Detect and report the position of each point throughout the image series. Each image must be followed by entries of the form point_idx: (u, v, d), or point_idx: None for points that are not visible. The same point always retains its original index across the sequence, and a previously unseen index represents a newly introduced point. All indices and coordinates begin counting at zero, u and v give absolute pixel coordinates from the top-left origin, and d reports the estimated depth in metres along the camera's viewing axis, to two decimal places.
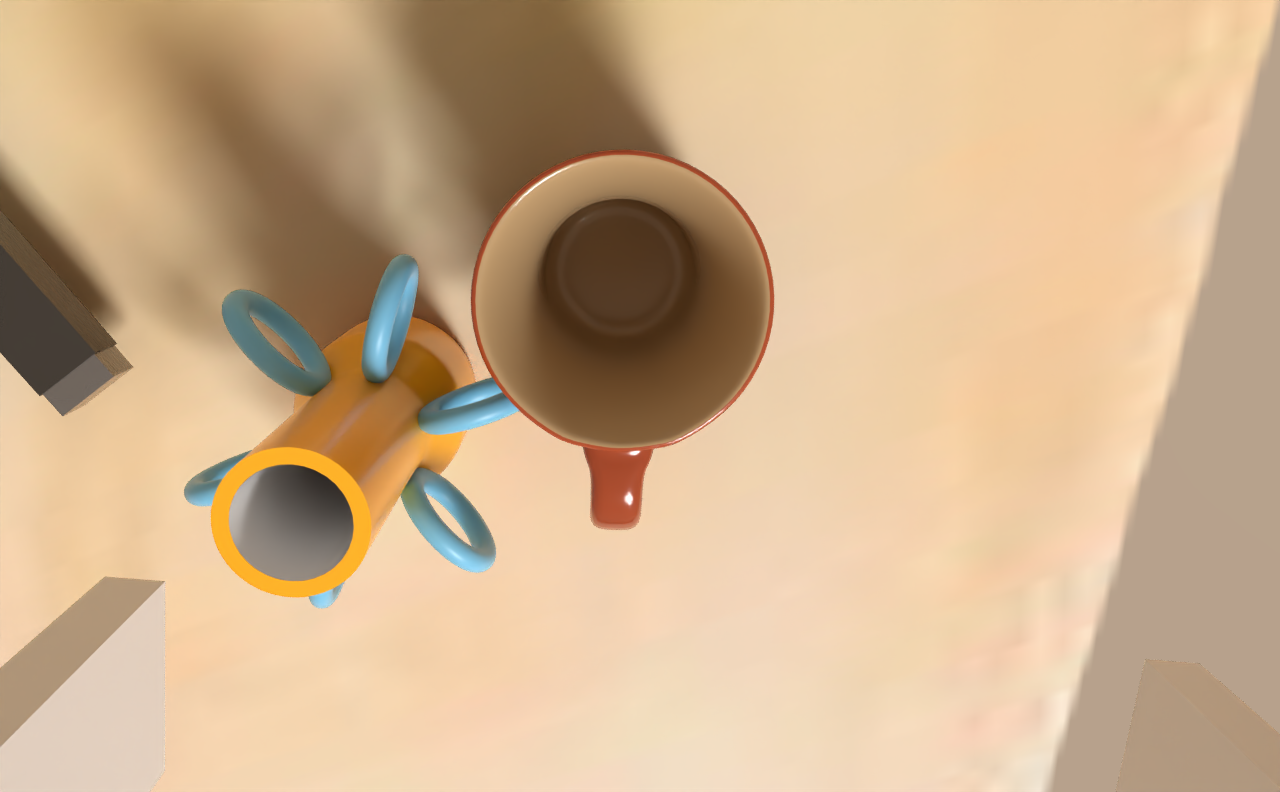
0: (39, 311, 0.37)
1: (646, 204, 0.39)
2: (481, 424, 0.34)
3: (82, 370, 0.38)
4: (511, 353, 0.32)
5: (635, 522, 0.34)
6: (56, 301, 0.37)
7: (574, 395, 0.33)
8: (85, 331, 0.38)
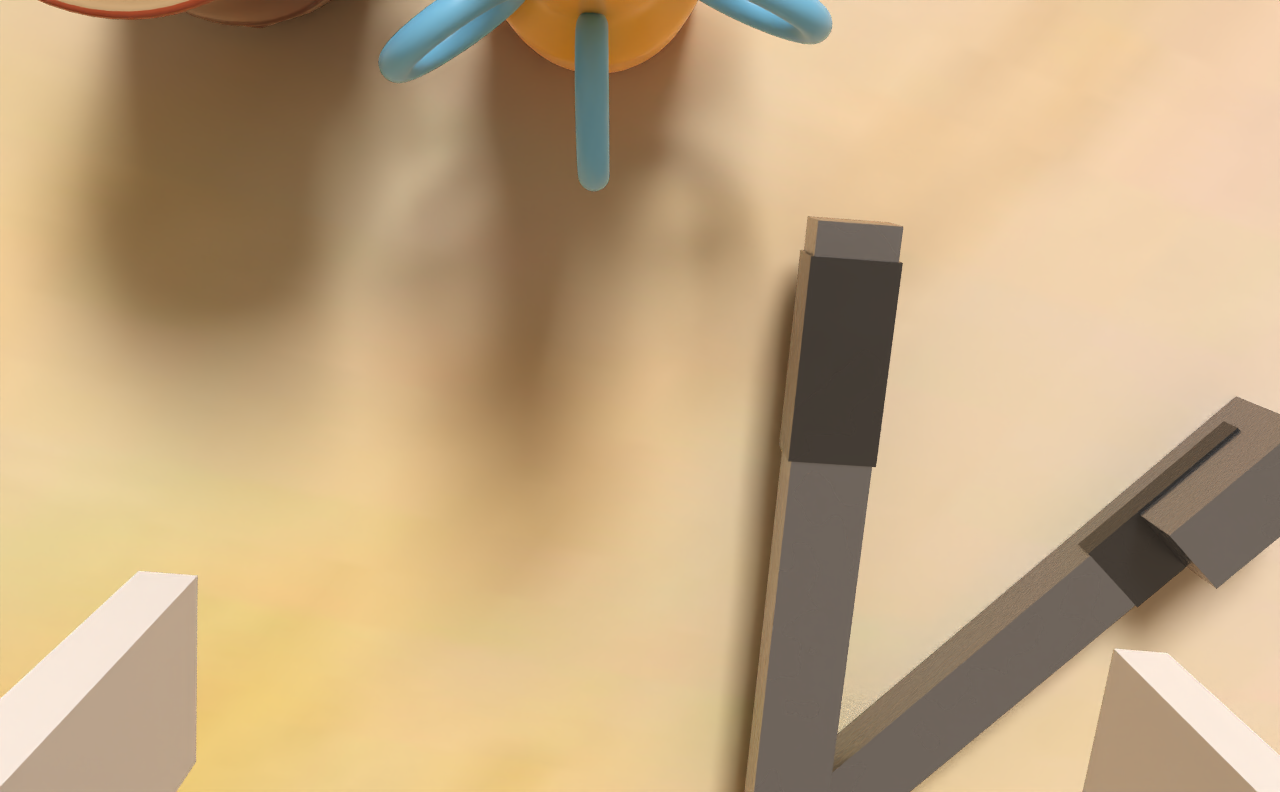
0: (821, 334, 0.31)
1: None
2: None
3: (840, 251, 0.30)
4: None
5: None
6: (800, 330, 0.31)
7: None
8: (804, 283, 0.31)
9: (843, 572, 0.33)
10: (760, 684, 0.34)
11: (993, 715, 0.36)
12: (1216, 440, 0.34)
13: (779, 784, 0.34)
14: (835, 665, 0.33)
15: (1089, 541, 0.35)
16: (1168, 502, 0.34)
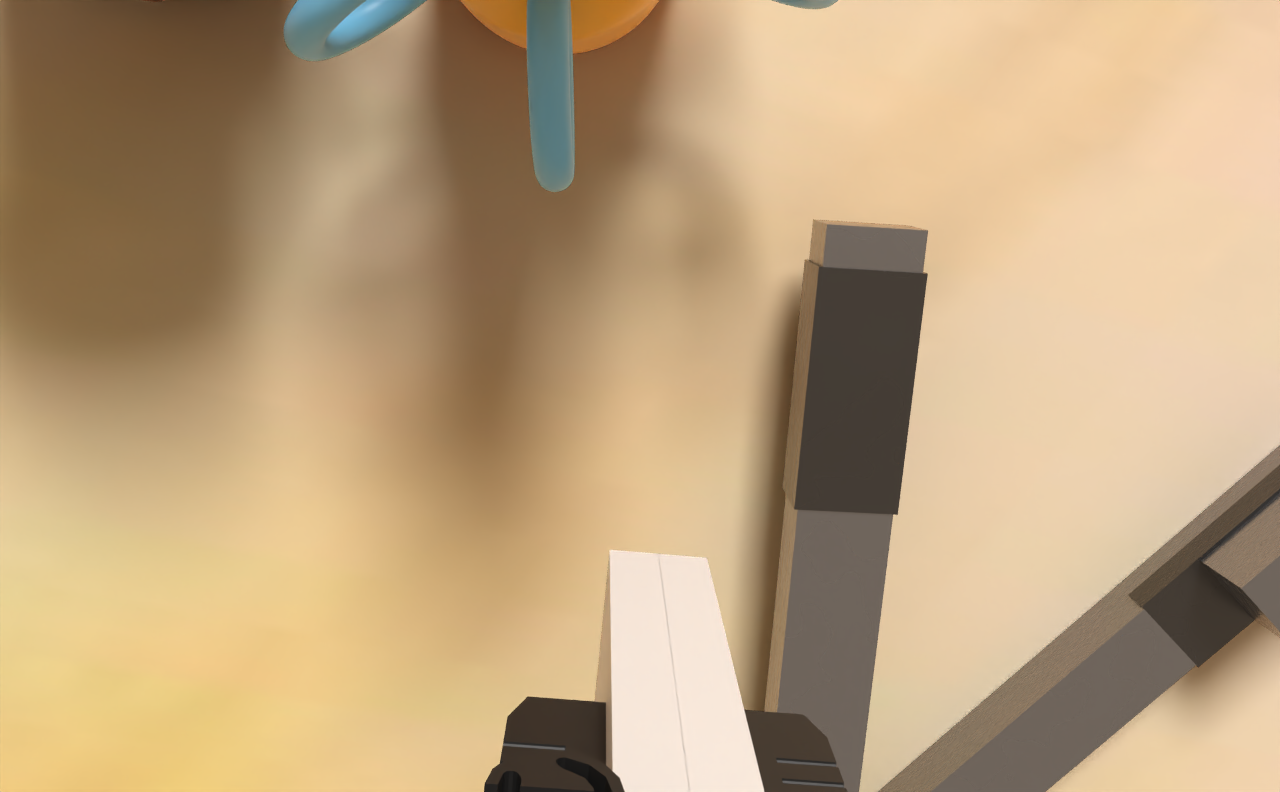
0: (831, 359, 0.26)
1: None
2: None
3: (853, 260, 0.25)
4: None
5: None
6: (806, 354, 0.26)
7: None
8: (811, 298, 0.26)
9: (861, 638, 0.28)
10: None
11: None
12: None
13: None
14: (852, 745, 0.28)
15: (1142, 592, 0.30)
16: (1236, 547, 0.29)
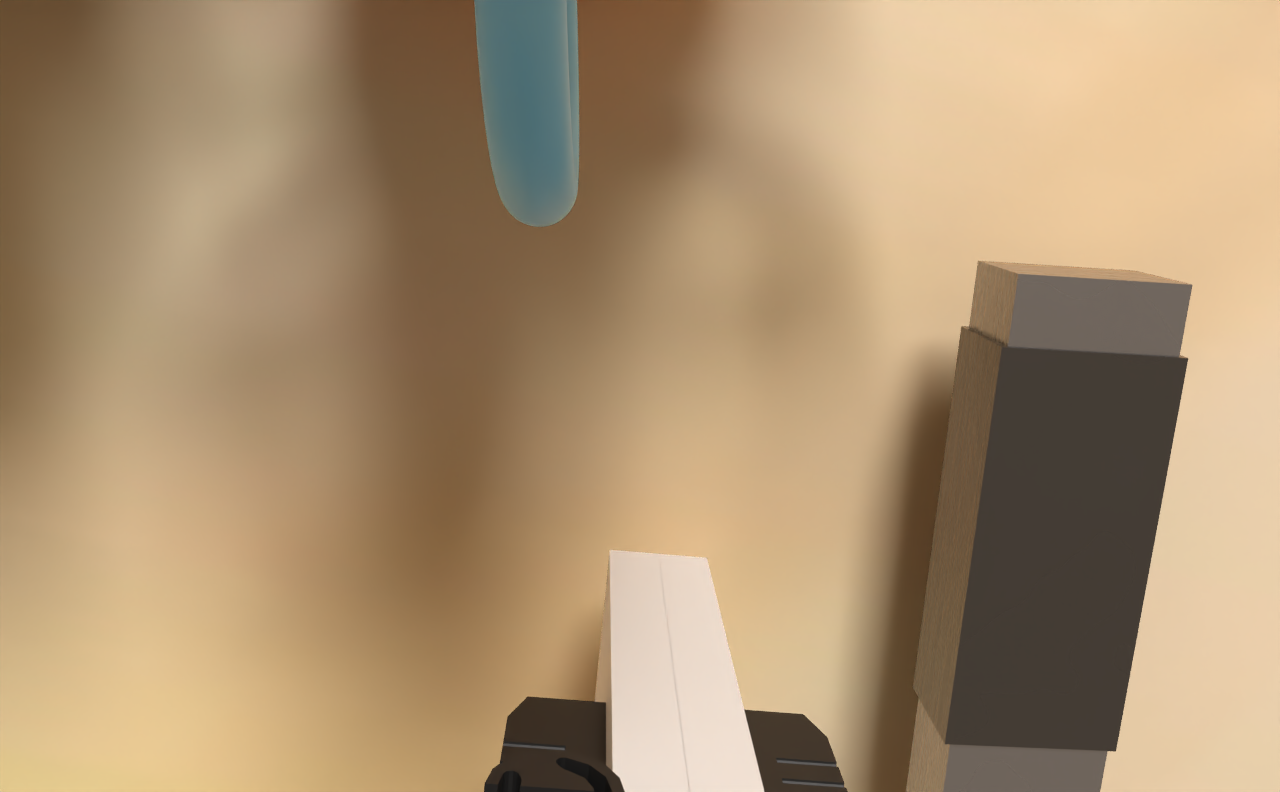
0: (1017, 502, 0.15)
1: None
2: None
3: (1061, 335, 0.15)
4: None
5: None
6: (971, 490, 0.16)
7: None
8: (981, 397, 0.15)
9: None
10: None
11: None
12: None
13: None
14: None
15: None
16: None
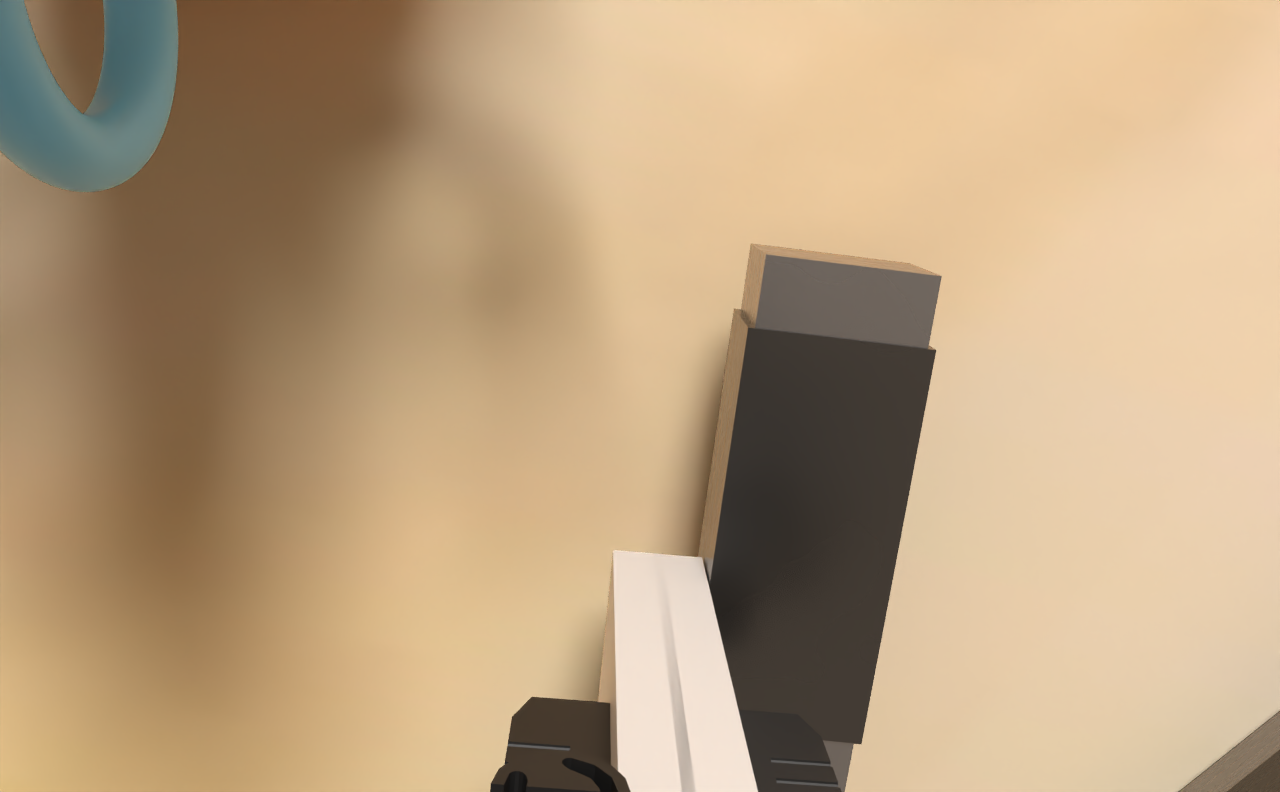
0: (763, 485, 0.15)
1: None
2: None
3: (809, 319, 0.15)
4: None
5: None
6: (723, 471, 0.15)
7: None
8: (735, 378, 0.15)
9: None
10: None
11: None
12: None
13: None
14: None
15: None
16: None
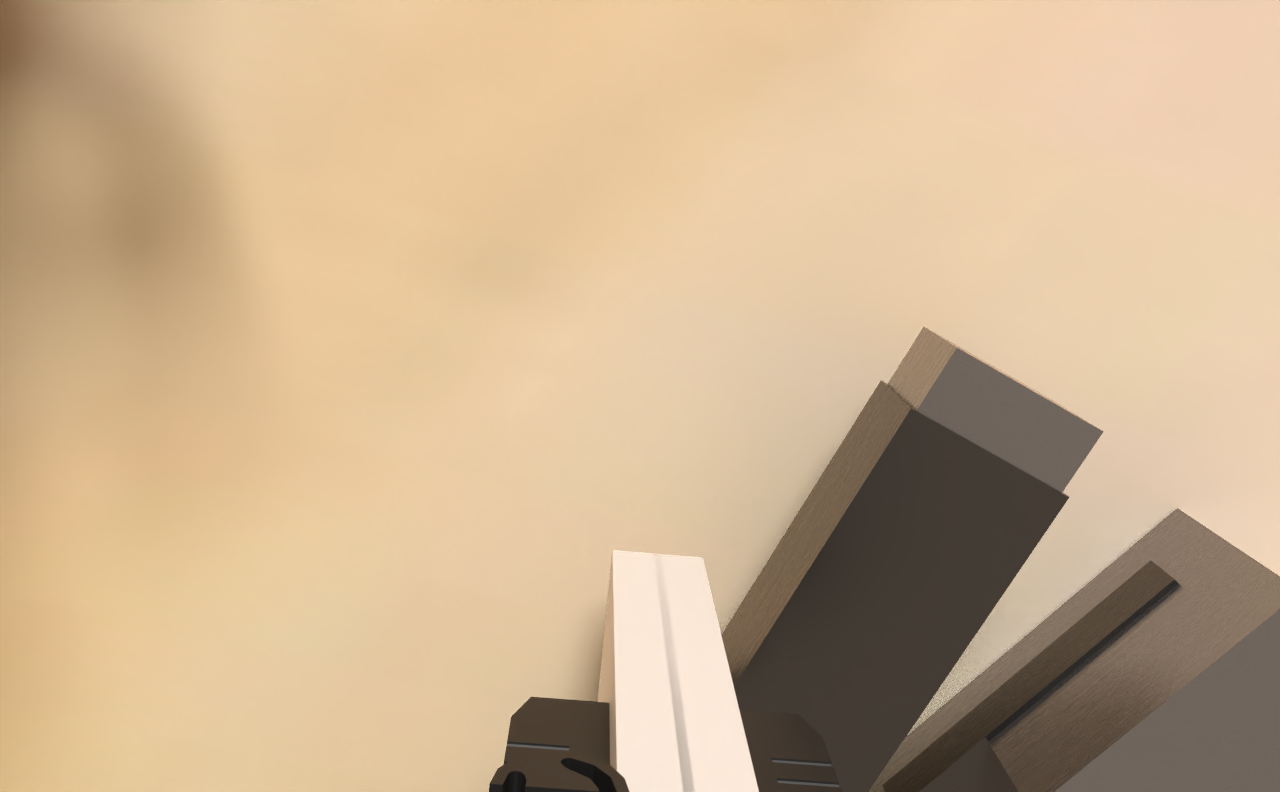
0: (858, 559, 0.15)
1: None
2: None
3: (968, 423, 0.15)
4: None
5: None
6: (822, 531, 0.15)
7: None
8: (870, 449, 0.15)
9: None
10: None
11: None
12: (1134, 601, 0.18)
13: None
14: None
15: (900, 784, 0.19)
16: (1039, 727, 0.17)
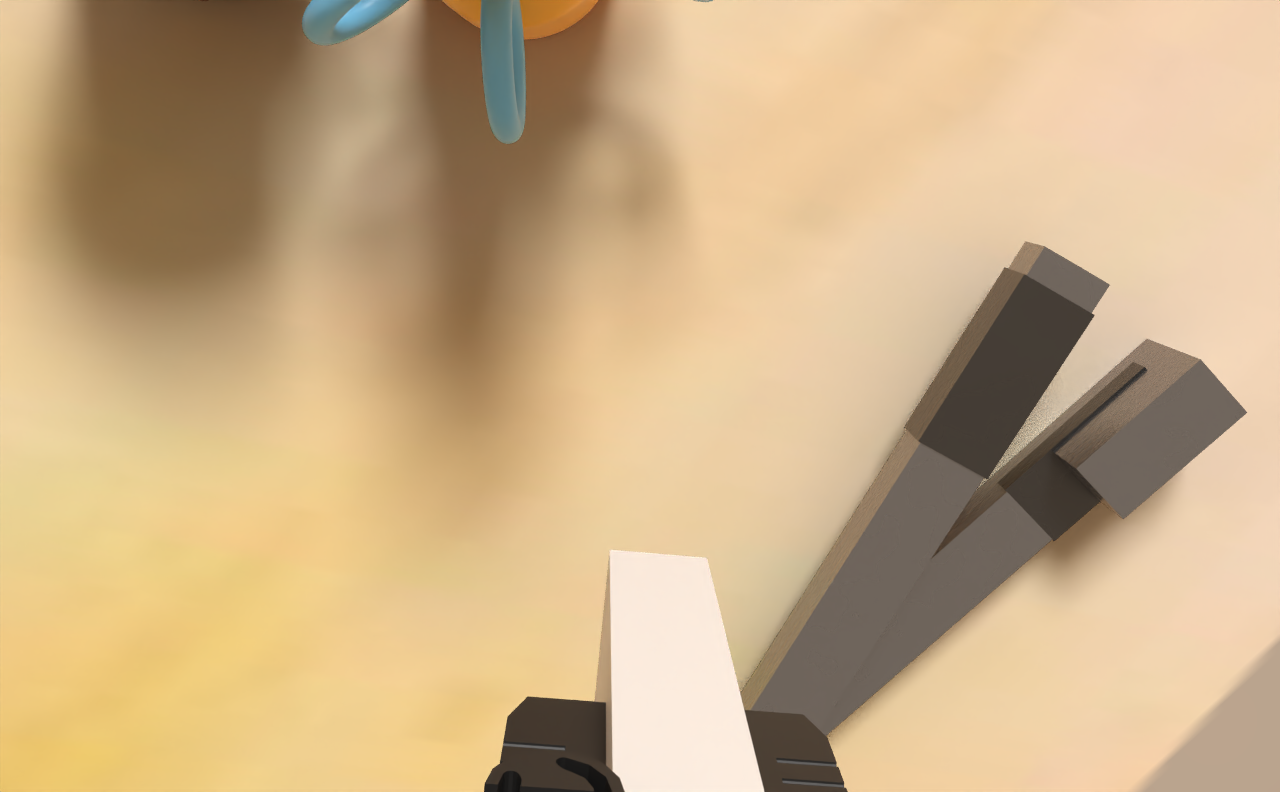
0: (999, 344, 0.33)
1: None
2: None
3: (1049, 281, 0.33)
4: None
5: None
6: (981, 333, 0.34)
7: None
8: (1003, 295, 0.33)
9: (915, 559, 0.35)
10: (791, 627, 0.36)
11: (919, 647, 0.38)
12: (1125, 379, 0.36)
13: None
14: (868, 636, 0.36)
15: (1007, 479, 0.37)
16: (1078, 439, 0.35)
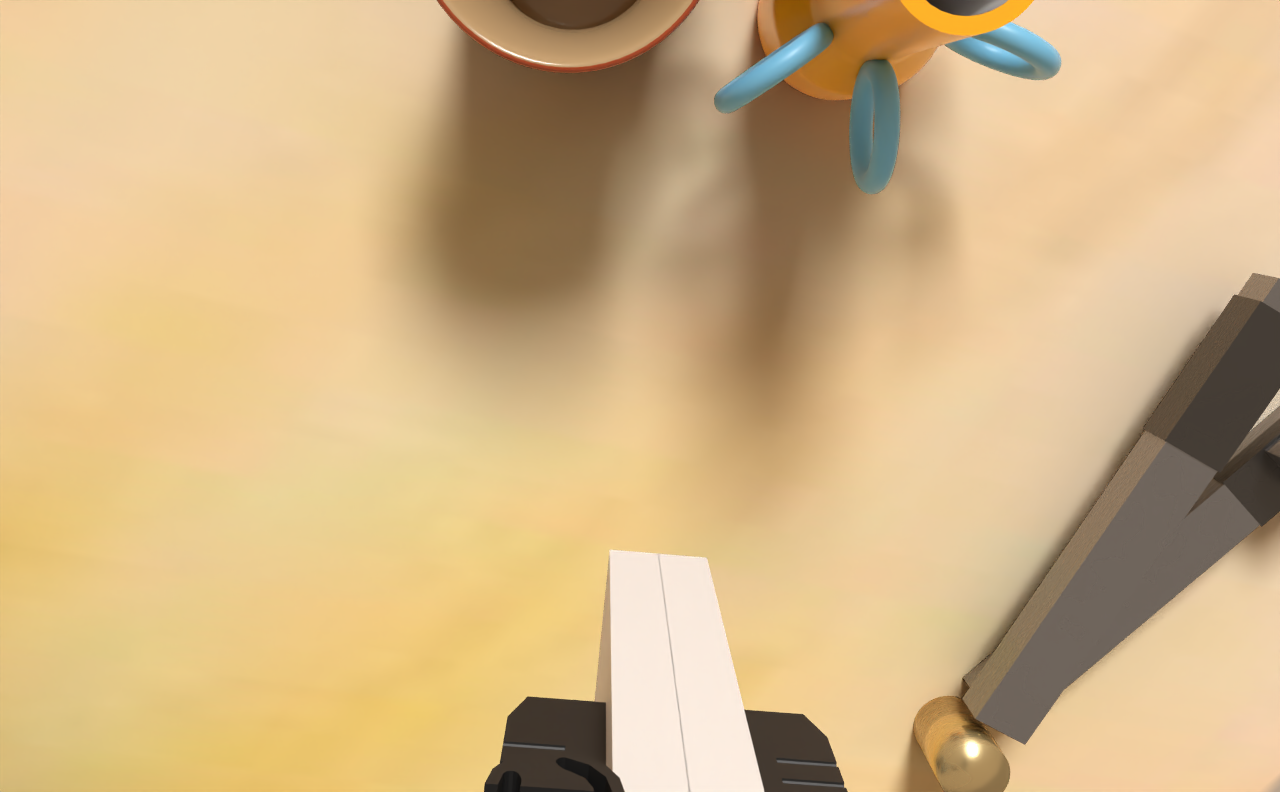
0: (1236, 360, 0.40)
1: None
2: None
3: None
4: None
5: None
6: (1220, 350, 0.40)
7: None
8: (1239, 318, 0.40)
9: (1156, 540, 0.41)
10: (1042, 599, 0.43)
11: (1143, 617, 0.44)
12: None
13: (1025, 678, 0.42)
14: (1112, 606, 0.42)
15: (1222, 473, 0.43)
16: None
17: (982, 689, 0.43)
